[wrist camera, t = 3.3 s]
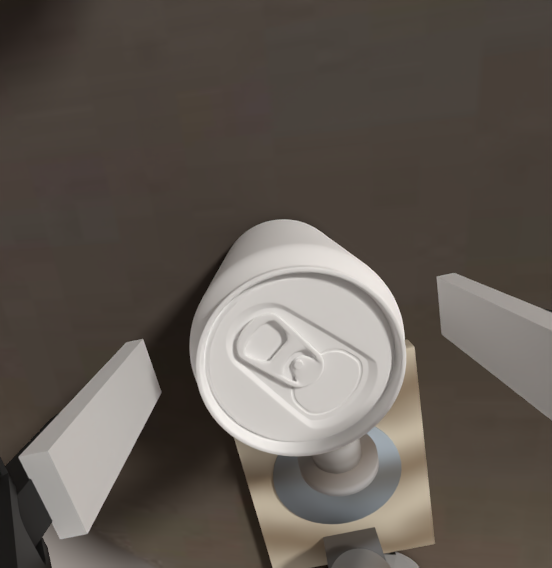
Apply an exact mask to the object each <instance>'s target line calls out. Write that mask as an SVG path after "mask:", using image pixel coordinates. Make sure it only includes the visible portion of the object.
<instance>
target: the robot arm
mask: <svg viewBox="0 0 552 568" xmlns="http://www.w3.org/2000/svg"><path fill="white" fill-rule="evenodd" d="M437 286H438V298H439V310H440V321H441V333H442V335H443V336H445V337H446V338H447V339H448V340H450V341H451V342H452V343H454V344H455V345H456V346H457V347H459V348H460V349H461V350H462V351H464V352H465V353H466V354H468V355H469V356H470V357H471V358H473V359H474V360H475V361H477V362H478V363H479V364H480V365H482V366H483V367H484V368H485V369H487V370H488V371H489V372H491V373H492V374H493V375H494V376H496V377H497V378H498V379H500V380H501V381H502V382H503V383H505V384H506V385H507V386H508V387H510V388H511V389H512V390H514V391H515V392H516V393H517V394H519V395H520V396H521V397H523V398H524V399H525V400H526V401H528V402H529V403H530V404H532V405H533V406H534V407H535V408H537V409H538V410H539V411H540V412H542V413H543V414H544V415H546V416H547V417H548V418H549V419H551V420H552V310H548V309H543V308H539V307H537V306H534V305H532V304H529V303H527V302H524V301H522V300H519V299H517V298H515V297H512V296H510V295H507V294H505V293H502V292H500V291H497V290H495V289H492V288H490V287H488V286H485V285H483V284H480V283H478V282H475V281H473V280H470V279H468V278H465V277H463V276H460V275H458V274H456V273H451V274H447V275H442V276H437ZM161 393H162V392H161V389H160V386H159V384H158V381H157V378H156V375H155V372H154V369H153V366H152V363H151V360H150V358H149V355H148V352H147V349H146V346H145V343H144V340H143V339H140V340H135V341H131V342H126V343H125V344H124V345H123V346H122V347H121V349H120V350H119V351H118V352H117V353H116V354H115V355H114V356H113V357H112V358H111V359H110V360H109V361H108V362H107V363H106V364H105V366H104V367H103V368H102V369H101V370H100V371H99V372H98V373H97V374H96V375H95V376H94V377H93V378H92V379H91V380H90V381H89V382H88V384H87V385H86V386H85V387H84V388H83V389H82V390H81V391H80V392H79V393H78V394H77V395H76V396H75V397H74V398H73V399H72V401H71V402H70V403H69V404H68V405H67V406H66V407H65V408H64V409H63V410H62V411H61V412H60V413H58V414H57V415H56V416H54V417H53V418H51V419H50V420H49V421H48V422H47V423H46V424H45V425H44V426H43V428H42V429H41V430H40V432H38V433H37V434H36V435H35V436H34V437H33V438H32V439H31V442H28V443H27V444H26V445H25V446H24V447H23V448H22V449H21V450H20V452H19V453H18V454H17V455H16V456H15V457H14V458H13V459H12V460H11V461H10V462H9V463H8V464H7V465H6V466H5V465H4V463H3V462H2V460H1V458H0V568H52V567H51V562H50V557H49V552H48V548H47V545H46V544H45V542H44V540H43V538H42V536H43V535H44V533H45V532H46V530H47V529H48V527H49V526H50V524H51V523H52V524H53V527H54V528H55V530H56V532H57V534H58V536H59V538H60V539H65V538H70V537H75V536H80V535H85V534H88V532H89V530H90V528H91V526H92V524H93V522H94V521H95V519H96V517H97V515H98V513H99V511H100V509H101V507H102V505H103V503H104V501H105V500H106V498H107V496H108V494H109V492H110V490H111V488H112V486H113V484H114V482H115V480H116V479H117V477H118V475H119V473H120V471H121V469H122V467H123V465H124V463H125V461H126V459H127V458H128V456H129V454H130V452H131V450H132V448H133V446H134V444H135V442H136V440H137V438H138V437H139V435H140V433H141V431H142V429H143V427H144V425H145V423H146V421H147V419H148V417H149V416H150V414H151V412H152V410H153V408H154V406H155V404H156V402H157V400H158V398H159V396H160V395H161Z"/></svg>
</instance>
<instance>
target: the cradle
mask: <svg viewBox="0 0 552 568" xmlns="http://www.w3.org/2000/svg"><path fill="white" fill-rule="evenodd" d="M405 346H406V369H405V375H404V380H403V383H402V386H401V389H400V392H399V394H398V396H397V398H396V400H395V402H394V403H393V405H392V407H391V408H390V410H389V411H388V412H387V414H386V415H385V416H384V417H383V419H382V420H381V421H380V422H379V423H378V424H377V425H376V426H375V427H374V428H372V429H371V430H370V431H369V432H368V433H366V434H365V435H364V436H362V437H361V438H359V439H357V440H356V441H354V442H352V443H350V444H348V445H346V446H344V447H342V448H339V449H336V450H333V451H330V452H327V453H322V454H318V455H311V456H282V455H276V454H271V453H267V452H263V451H260V450H257V449H255V448H252V447H250V446H248V445H246V444H244V443H242V442H240V441H239V440H237V439H236V438H234V440H235V443H236V446H237V450H238V453H239V456H240V460H241V463H242V466H243V470H244V473H245V476H246V480H247V483H248V487H249V490H250V493H251V497H252V500H253V503H254V507H255V510H256V513H257V517H258V520H259V523H260V527H261V530H262V533H263V537H264V540H265V544H266V547H267V550H268V554H269V557H270V560H271V564H272V567H273V568H312V567H317V566H322V565H328V568H391V567H390V565H389V564H388V563H387V562H386V559H385V556H384V554H385V553H390V552H395V551H400V550H405V549H410V548H416V547H421V546H426V545H431V544H435V541H434V531H433V522H432V512H431V502H430V493H429V483H428V474H427V464H426V454H425V445H424V435H423V425H422V416H421V406H420V396H419V387H418V377H417V367H416V358H415V348H414V346H413V345H412V344H411V343H410V342H409V341H408V340H405Z"/></svg>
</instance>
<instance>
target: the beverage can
mask: <svg viewBox="0 0 552 568" xmlns="http://www.w3.org/2000/svg"><path fill="white" fill-rule="evenodd" d="M190 360H191V365H192V370H193V373H194V376H195V379H196V382H197V384H198V388H199V392H200V394H201V397H202V399H203V402H204V404H205V406H206V407H207V409H208V411H209V412H210V414H211V415H212V417H213V418H214V419H215V420H216V422H217V423H218V424H219V425H220V426H221V427H222V428H223V429H224V430H225V431H226V432H228V433H229V434H230V435H231V436H233V437H234V438H236V439H237V440H239V441H240V442H242V443H244V444H246V445H248V446H250V447H252V448H255V449H257V450H260V451H263V452H267V453H271V454H276V455H282V456H311V455H318V454H322V453H327V452H330V451H333V450H336V449H339V448H342V447H344V446H346V445H348V444H350V443H352V442H354V441H356V440H357V439H359V438H361V437H362V436H364V435H365V434H366V433H368V432H369V431H370V430H371V429H372V428H374V427H375V426H376V425H377V424H378V423H379V422H380V421H381V420H382V419H383V417H384V416H385V415H386V414H387V412H388V411H389V410H390V408H391V407H392V405H393V403H394V402H395V400H396V398H397V396H398V394H399V392H400V389H401V386H402V383H403V380H404V375H405V369H406V346H405V337H404V327H403V322H402V317H401V314H400V311H399V308H398V305H397V303H396V301H395V299H394V297H393V295H392V293H391V292H390V290H389V289H388V287H387V286H386V284H385V283H384V282H383V281H382V279H381V278H380V277H379V276H378V275H377V274H376V273H375V272H374V271H373V270H372V269H370V268H369V267H368V266H367V265H366V264H364V263H363V262H362V261H360V260H359V259H357V258H356V257H355V256H353V255H352V254H351V253H349V252H348V251H347V250H345V249H344V248H342V247H341V246H340V245H338V244H337V243H336V242H334V241H333V240H331V239H330V238H329V237H327V236H326V235H325V234H323V233H322V232H321V231H319V230H318V229H316V228H314V227H312V226H310V225H308V224H306V223H303V222H300V221H295V220H287V219H280V220H272V221H267V222H264V223H261V224H259V225H256V226H254V227H253V228H251V229H249V230H248V231H246V232H245V233H244V234H243V235H241V236H240V237H239V238H238V239H237V241H236V242H235V243H234V244H233V246H232V247H231V249H230V250H229V252H228V254H227V255H226V257H225V259H224V261H223V262H222V264H221V266H220V268H219V270H218V271H217V273H216V275H215V277H214V278H213V280H212V282H211V284H210V285H209V287H208V289H207V291H206V292H205V294H204V296H203V298H202V300H201V302H200V304H199V306H198V308H197V310H196V313H195V316H194V319H193V322H192V327H191V333H190Z"/></svg>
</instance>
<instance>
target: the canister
mask: <svg viewBox="0 0 552 568" xmlns="http://www.w3.org/2000/svg"><path fill="white" fill-rule="evenodd" d="M384 556H385V559H386V562H387V563H388V564H389V565H390V567H391V568H419V567H418V565H417V564H416V563H415V562H414V561H413V560H412V559H410V558H409V557H407V556H405V555H403V554H401V553H398V552H392V553H385V554H384Z"/></svg>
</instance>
